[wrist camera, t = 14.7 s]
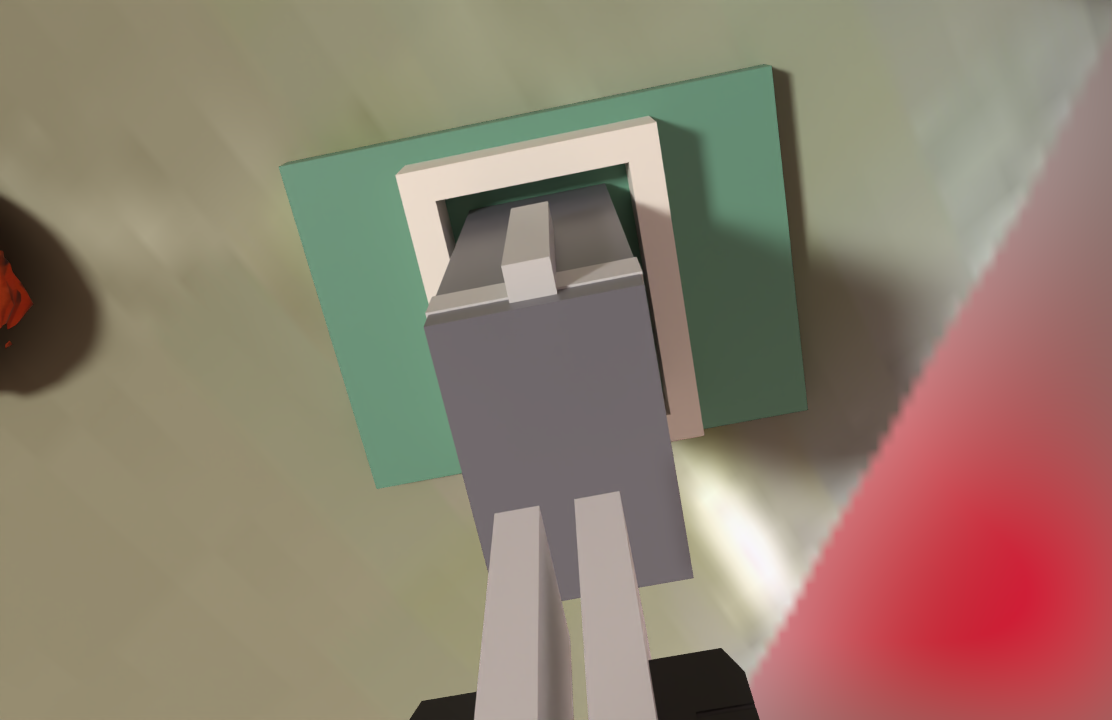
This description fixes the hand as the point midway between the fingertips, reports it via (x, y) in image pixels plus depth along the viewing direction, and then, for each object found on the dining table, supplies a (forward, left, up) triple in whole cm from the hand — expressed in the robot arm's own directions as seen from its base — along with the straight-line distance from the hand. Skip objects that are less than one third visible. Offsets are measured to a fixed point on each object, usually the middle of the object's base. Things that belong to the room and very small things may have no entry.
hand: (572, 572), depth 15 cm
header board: (0, 0, -17) cm, 17 cm away
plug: (0, 0, -16) cm, 16 cm away
